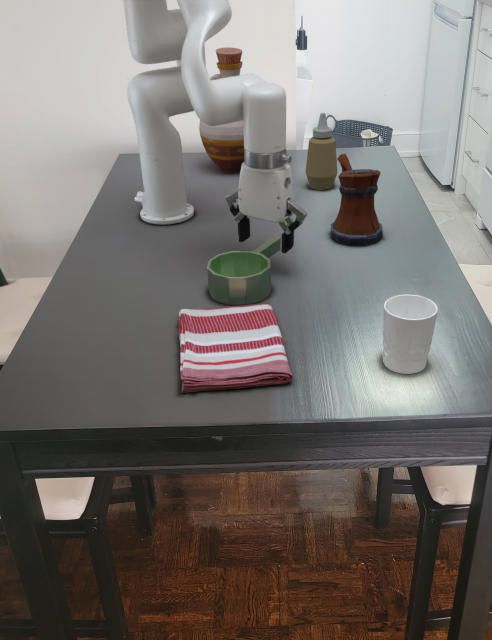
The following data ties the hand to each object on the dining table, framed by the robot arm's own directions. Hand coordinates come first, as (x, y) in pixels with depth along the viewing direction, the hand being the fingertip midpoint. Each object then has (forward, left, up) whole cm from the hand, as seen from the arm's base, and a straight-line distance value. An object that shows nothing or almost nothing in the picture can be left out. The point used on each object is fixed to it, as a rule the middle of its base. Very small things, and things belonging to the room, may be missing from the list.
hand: (265, 245), depth 135 cm
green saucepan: (+1, -7, -5) cm, 8 cm away
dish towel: (+11, -28, -5) cm, 31 cm away
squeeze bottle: (-12, +48, -5) cm, 49 cm away
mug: (+7, +26, -5) cm, 27 cm away
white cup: (+37, -18, -5) cm, 41 cm away
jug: (-41, +50, -5) cm, 65 cm away
